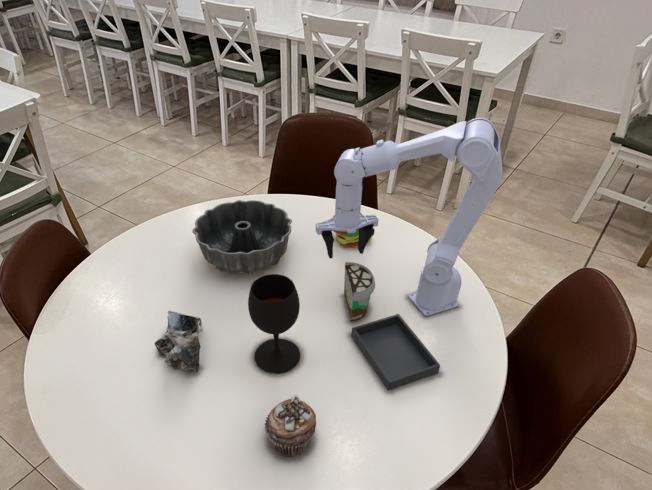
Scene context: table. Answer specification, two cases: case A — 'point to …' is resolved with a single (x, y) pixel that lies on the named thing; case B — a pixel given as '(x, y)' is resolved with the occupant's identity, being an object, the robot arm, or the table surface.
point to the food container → (357, 289)
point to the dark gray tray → (394, 351)
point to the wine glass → (274, 321)
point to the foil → (181, 341)
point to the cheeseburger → (348, 237)
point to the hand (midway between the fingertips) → (345, 253)
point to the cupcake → (290, 426)
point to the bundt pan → (243, 235)
